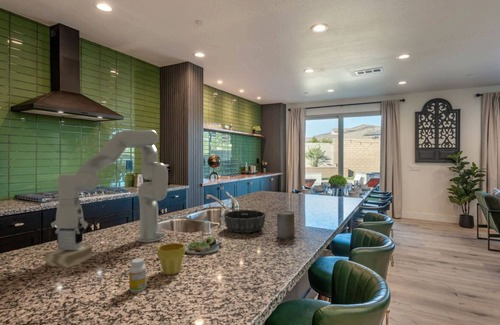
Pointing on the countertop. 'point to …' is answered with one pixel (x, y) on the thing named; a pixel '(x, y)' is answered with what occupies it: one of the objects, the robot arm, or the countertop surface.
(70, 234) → the medicine box
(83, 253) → the birch block
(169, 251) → the plant pot
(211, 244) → the salad plate
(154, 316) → the countertop surface
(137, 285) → the supplement bottle
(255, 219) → the bundt pan
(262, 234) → the countertop surface
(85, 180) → the robot arm
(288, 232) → the pillar candle
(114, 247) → the countertop surface
